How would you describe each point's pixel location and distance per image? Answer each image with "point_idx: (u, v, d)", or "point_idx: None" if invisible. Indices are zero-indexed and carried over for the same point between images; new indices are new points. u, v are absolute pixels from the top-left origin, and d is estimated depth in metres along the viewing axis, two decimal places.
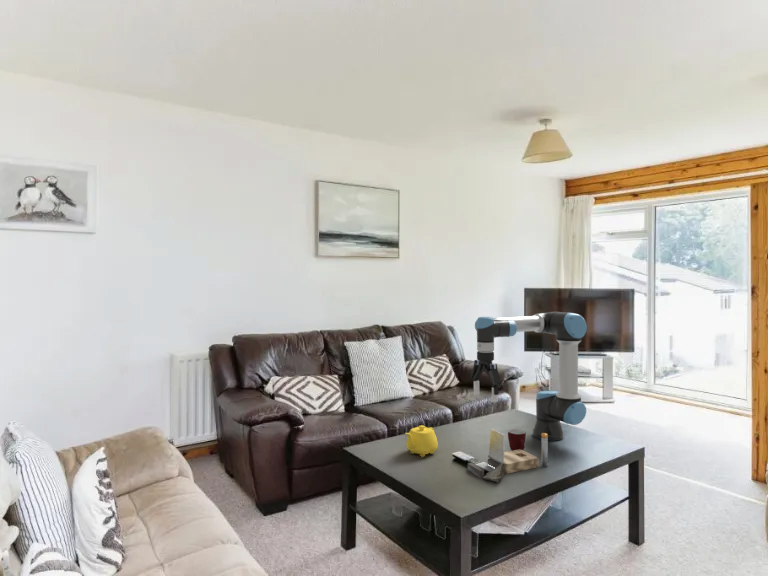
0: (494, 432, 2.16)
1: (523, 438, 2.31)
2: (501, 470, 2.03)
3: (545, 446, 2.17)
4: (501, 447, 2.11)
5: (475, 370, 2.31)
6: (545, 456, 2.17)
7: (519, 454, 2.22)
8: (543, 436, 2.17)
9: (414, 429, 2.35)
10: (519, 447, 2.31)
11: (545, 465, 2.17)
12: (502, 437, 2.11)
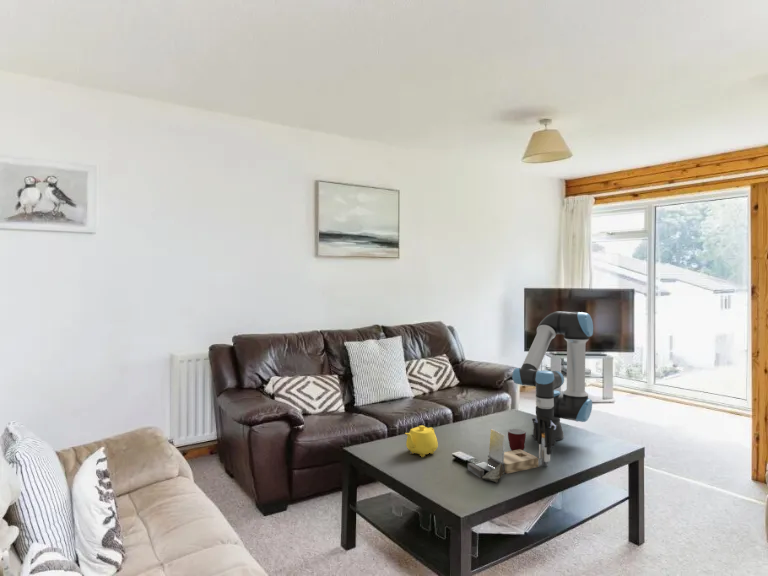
0: (494, 432, 2.16)
1: (523, 438, 2.31)
2: (500, 470, 2.03)
3: None
4: (501, 447, 2.11)
5: (537, 429, 2.22)
6: None
7: (519, 454, 2.22)
8: (543, 436, 2.17)
9: (414, 429, 2.35)
10: (519, 447, 2.31)
11: (545, 465, 2.17)
12: (502, 437, 2.11)
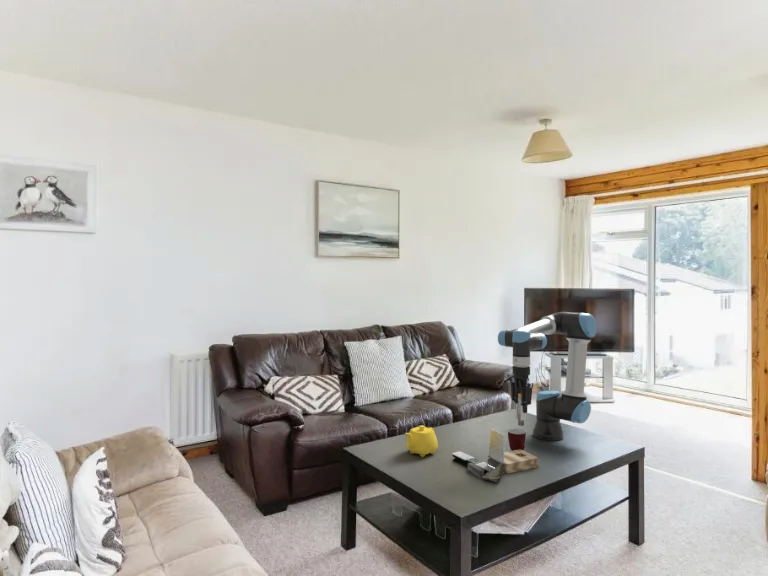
0: (494, 432, 2.16)
1: (523, 438, 2.31)
2: (500, 470, 2.02)
3: None
4: (501, 447, 2.11)
5: (514, 389, 2.23)
6: None
7: (519, 454, 2.22)
8: (519, 395, 2.19)
9: (414, 429, 2.35)
10: (519, 447, 2.31)
11: (521, 424, 2.19)
12: (502, 437, 2.11)
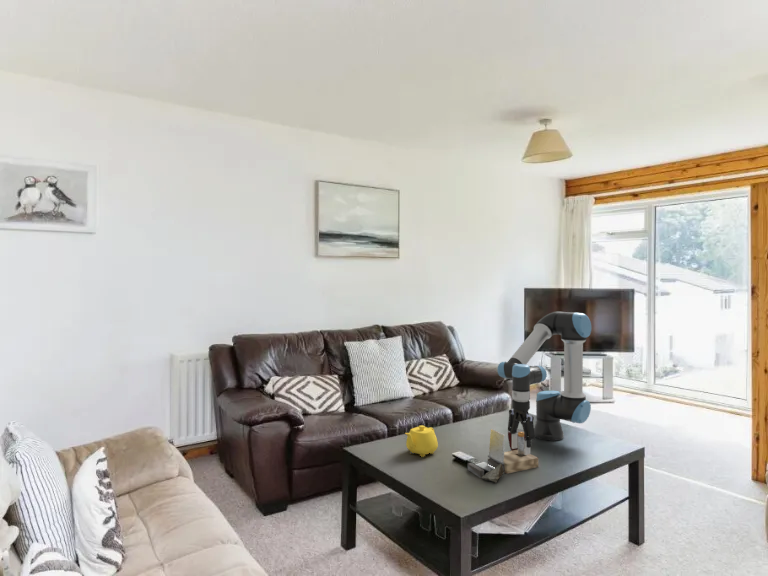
0: (494, 432, 2.16)
1: None
2: (500, 470, 2.02)
3: (521, 445, 2.19)
4: (501, 447, 2.11)
5: (511, 421, 2.25)
6: (521, 454, 2.19)
7: None
8: (519, 435, 2.19)
9: (414, 429, 2.35)
10: None
11: None
12: (502, 437, 2.11)
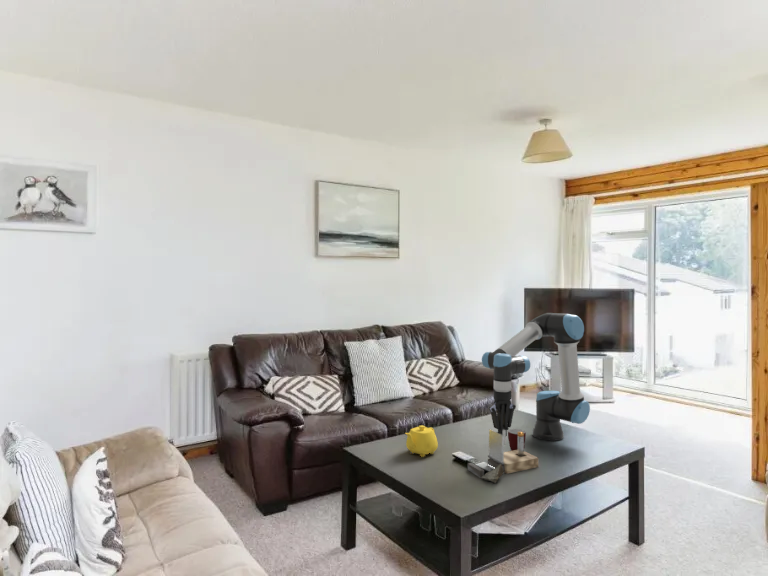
0: (493, 432, 2.16)
1: None
2: (499, 471, 2.02)
3: (521, 444, 2.19)
4: (500, 447, 2.11)
5: (508, 415, 2.17)
6: (521, 454, 2.19)
7: None
8: (519, 435, 2.19)
9: (414, 429, 2.35)
10: None
11: None
12: (501, 437, 2.11)
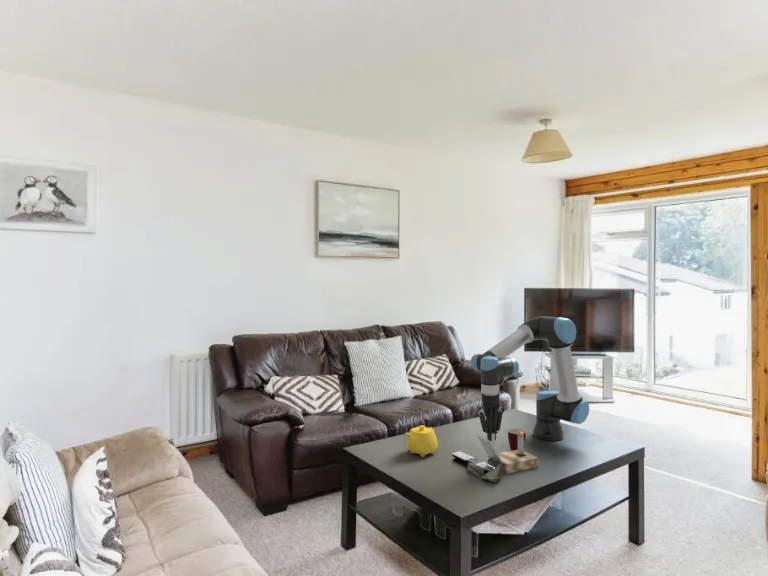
0: (481, 439, 2.13)
1: None
2: (499, 470, 2.02)
3: (521, 444, 2.19)
4: (494, 451, 2.10)
5: (497, 418, 2.15)
6: (521, 454, 2.19)
7: None
8: (519, 435, 2.19)
9: (414, 429, 2.35)
10: None
11: None
12: (489, 444, 2.09)
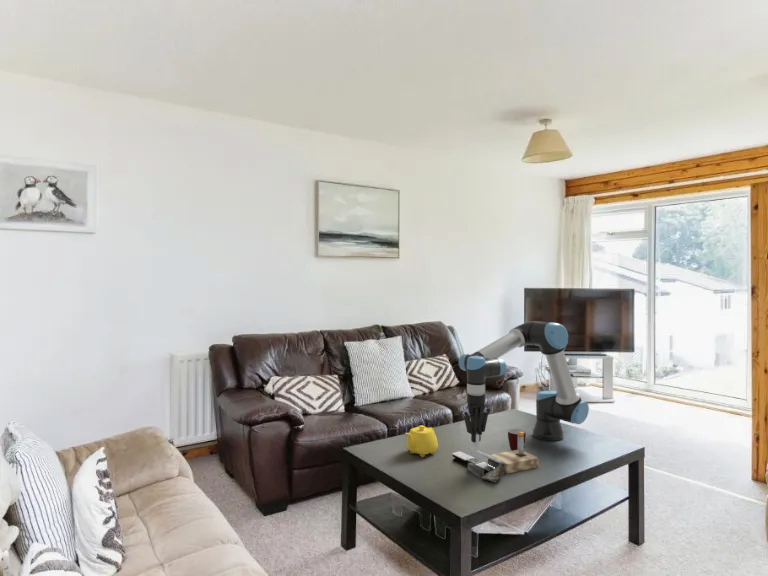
0: None
1: None
2: (499, 471, 2.02)
3: (521, 444, 2.19)
4: (489, 458, 2.09)
5: (482, 419, 2.12)
6: (521, 454, 2.19)
7: None
8: (519, 435, 2.19)
9: (414, 429, 2.35)
10: None
11: None
12: (482, 455, 2.07)
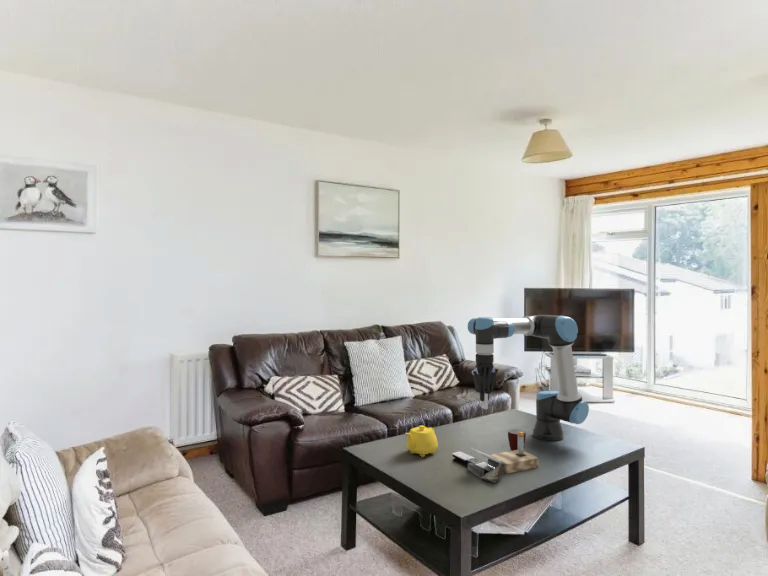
0: None
1: None
2: (499, 471, 2.02)
3: (521, 444, 2.19)
4: (489, 458, 2.09)
5: (490, 379, 2.16)
6: (521, 454, 2.19)
7: None
8: (519, 435, 2.19)
9: (414, 429, 2.35)
10: None
11: None
12: (482, 455, 2.07)
